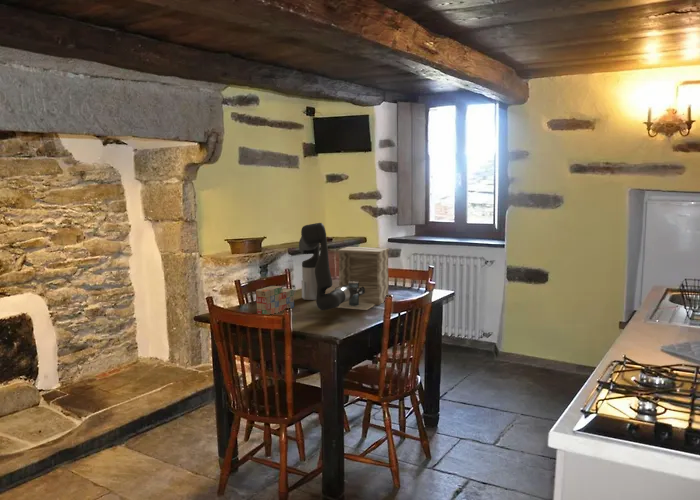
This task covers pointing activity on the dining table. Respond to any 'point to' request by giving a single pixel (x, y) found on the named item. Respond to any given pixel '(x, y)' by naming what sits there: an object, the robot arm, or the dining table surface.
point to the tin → (355, 298)
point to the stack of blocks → (274, 299)
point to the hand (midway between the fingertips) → (355, 288)
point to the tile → (361, 306)
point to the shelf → (365, 271)
